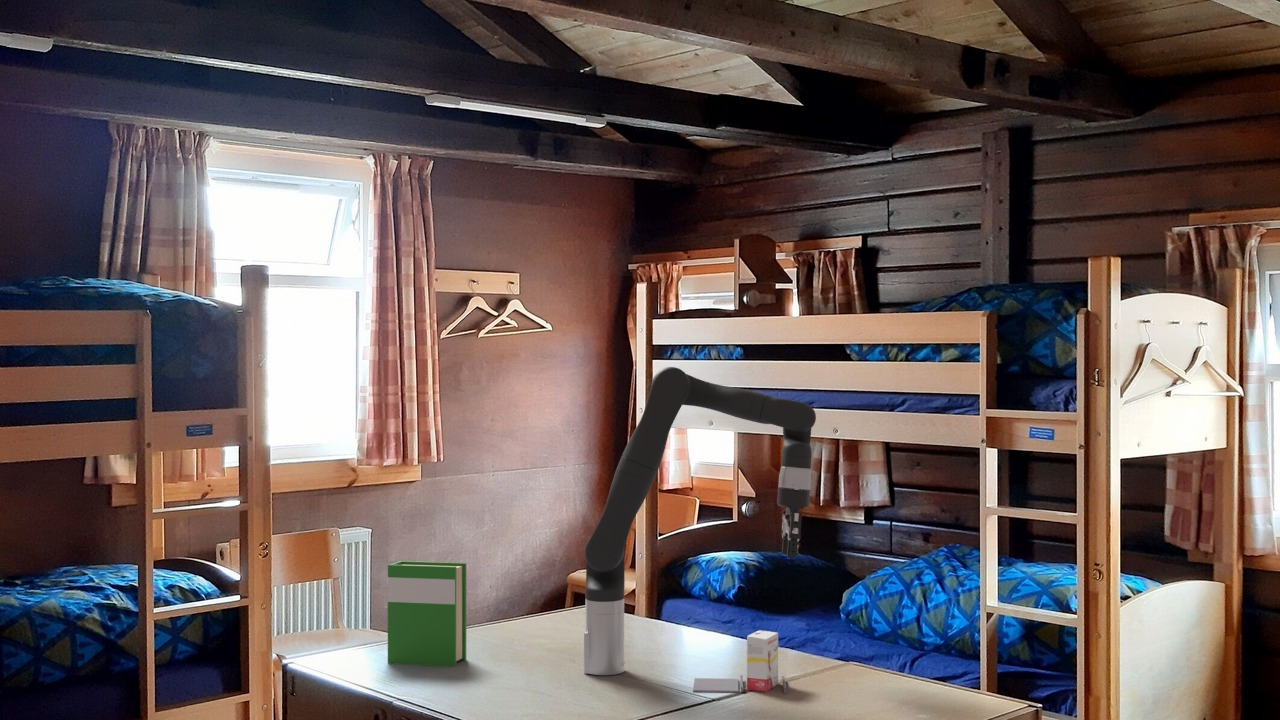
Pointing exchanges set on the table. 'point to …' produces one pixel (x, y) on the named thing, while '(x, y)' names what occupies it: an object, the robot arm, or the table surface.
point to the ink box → (762, 660)
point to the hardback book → (426, 613)
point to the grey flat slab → (721, 685)
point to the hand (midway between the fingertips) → (789, 555)
